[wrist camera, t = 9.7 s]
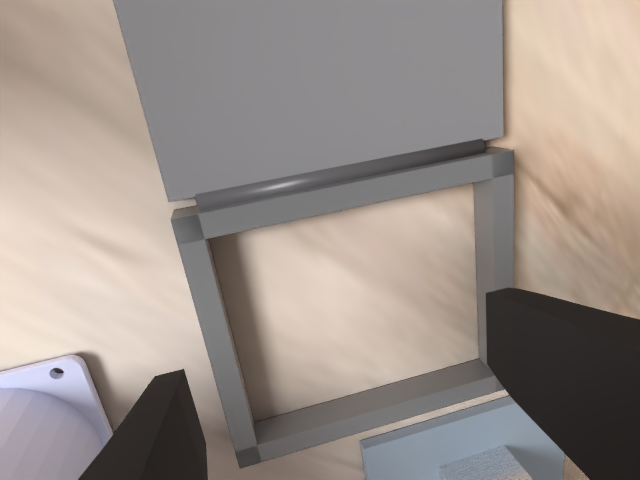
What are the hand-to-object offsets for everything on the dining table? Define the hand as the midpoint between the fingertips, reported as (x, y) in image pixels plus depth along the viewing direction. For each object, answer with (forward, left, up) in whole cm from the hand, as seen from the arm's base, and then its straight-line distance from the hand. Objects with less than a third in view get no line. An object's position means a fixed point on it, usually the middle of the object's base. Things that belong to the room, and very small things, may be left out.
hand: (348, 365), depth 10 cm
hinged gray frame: (+3, +3, -9) cm, 10 cm away
